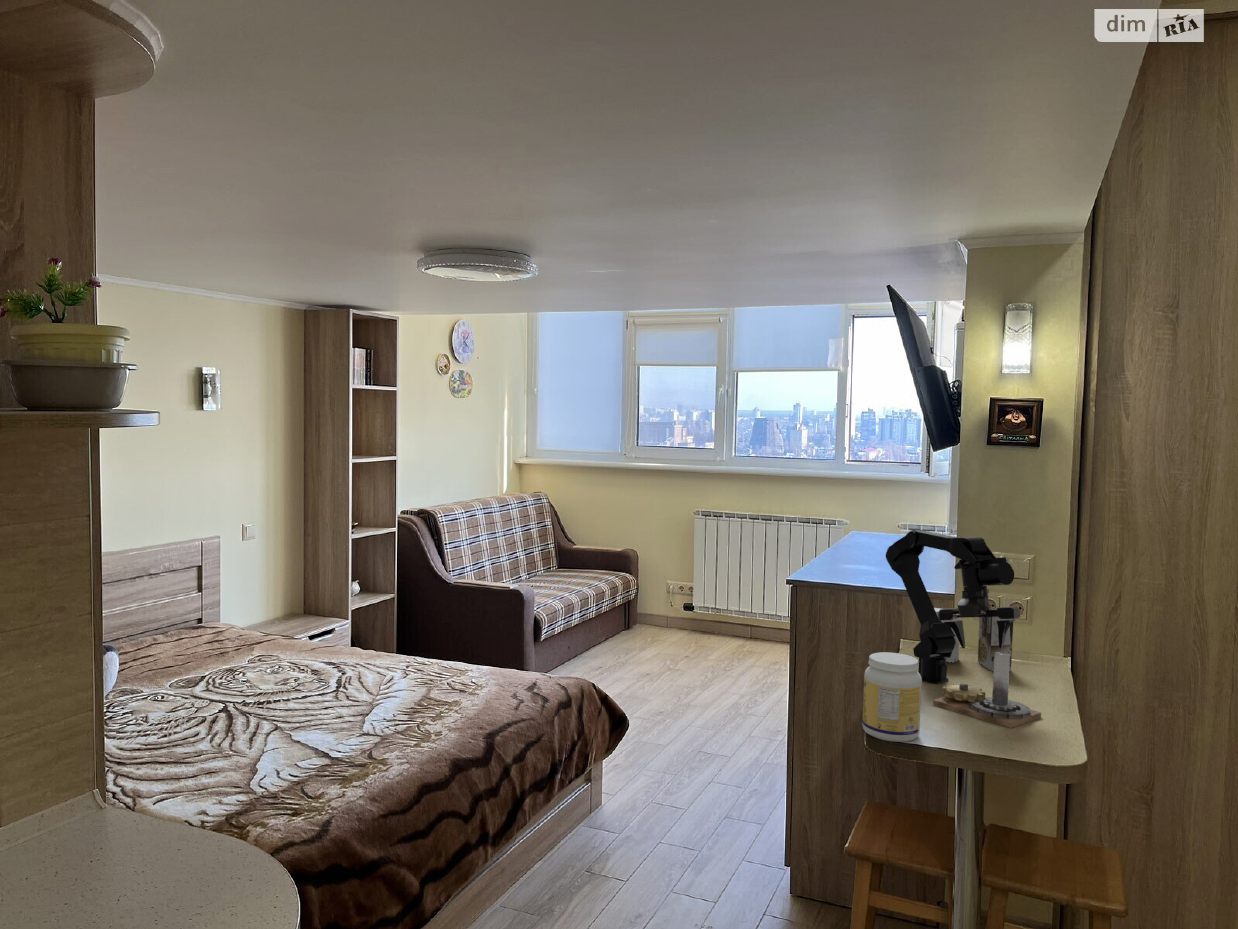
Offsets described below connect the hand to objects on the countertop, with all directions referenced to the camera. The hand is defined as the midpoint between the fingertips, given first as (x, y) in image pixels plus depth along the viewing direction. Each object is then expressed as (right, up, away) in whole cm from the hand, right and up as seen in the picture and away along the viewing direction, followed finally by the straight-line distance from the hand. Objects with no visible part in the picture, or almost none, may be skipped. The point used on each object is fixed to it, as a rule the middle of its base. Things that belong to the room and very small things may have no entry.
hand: (982, 648), depth 222 cm
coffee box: (+16, -12, +31) cm, 37 cm away
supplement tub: (-32, -13, -28) cm, 45 cm away
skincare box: (+4, -11, +37) cm, 39 cm away
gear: (-1, -12, -13) cm, 18 cm away
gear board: (-3, -13, -10) cm, 17 cm away
